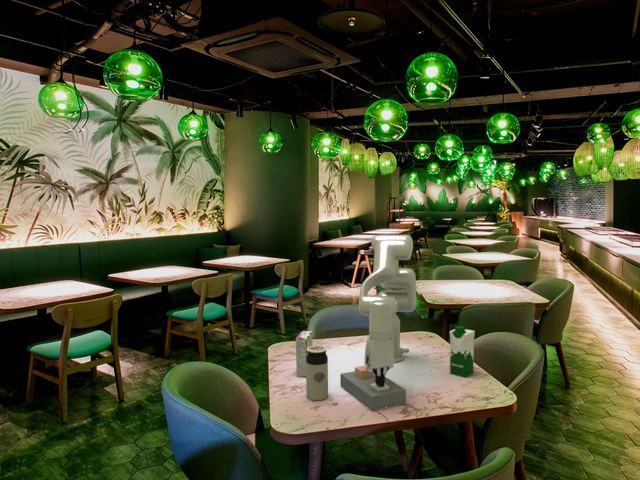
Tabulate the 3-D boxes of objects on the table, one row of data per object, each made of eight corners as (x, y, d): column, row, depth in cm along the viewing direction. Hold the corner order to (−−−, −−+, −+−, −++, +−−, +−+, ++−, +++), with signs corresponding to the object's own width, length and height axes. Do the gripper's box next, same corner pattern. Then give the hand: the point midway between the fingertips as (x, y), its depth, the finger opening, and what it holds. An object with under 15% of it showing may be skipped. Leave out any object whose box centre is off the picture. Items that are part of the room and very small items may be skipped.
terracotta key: (366, 377, 176) (366, 365, 176) (372, 382, 171) (372, 369, 171) (354, 379, 174) (354, 367, 174) (361, 384, 169) (361, 371, 169)
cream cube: (382, 395, 165) (382, 381, 165) (389, 400, 161) (389, 386, 160) (370, 397, 163) (370, 384, 163) (377, 402, 159) (377, 388, 158)
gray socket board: (371, 380, 181) (371, 368, 181) (406, 403, 159) (406, 389, 159) (340, 386, 176) (340, 373, 175) (371, 411, 154) (371, 396, 153)
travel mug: (307, 392, 170) (306, 345, 169) (328, 392, 170) (327, 345, 169) (305, 400, 162) (305, 351, 161) (327, 401, 162) (327, 351, 161)
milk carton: (447, 373, 188) (447, 326, 187) (457, 368, 194) (457, 322, 193) (467, 378, 182) (467, 330, 181) (476, 372, 188) (477, 325, 187)
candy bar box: (302, 367, 197) (301, 330, 196) (313, 368, 196) (312, 331, 195) (295, 376, 186) (295, 337, 185) (307, 377, 185) (307, 338, 184)
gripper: (392, 330, 167) (392, 379, 168) (356, 335, 161) (356, 385, 162) (403, 335, 160) (403, 386, 161) (366, 340, 154) (367, 393, 155)
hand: (380, 385), depth 161 cm, fingers closed
